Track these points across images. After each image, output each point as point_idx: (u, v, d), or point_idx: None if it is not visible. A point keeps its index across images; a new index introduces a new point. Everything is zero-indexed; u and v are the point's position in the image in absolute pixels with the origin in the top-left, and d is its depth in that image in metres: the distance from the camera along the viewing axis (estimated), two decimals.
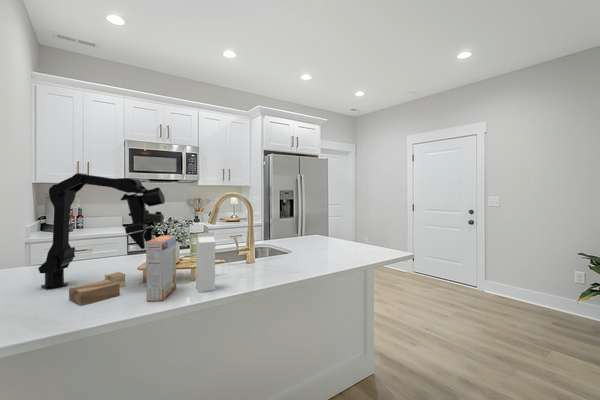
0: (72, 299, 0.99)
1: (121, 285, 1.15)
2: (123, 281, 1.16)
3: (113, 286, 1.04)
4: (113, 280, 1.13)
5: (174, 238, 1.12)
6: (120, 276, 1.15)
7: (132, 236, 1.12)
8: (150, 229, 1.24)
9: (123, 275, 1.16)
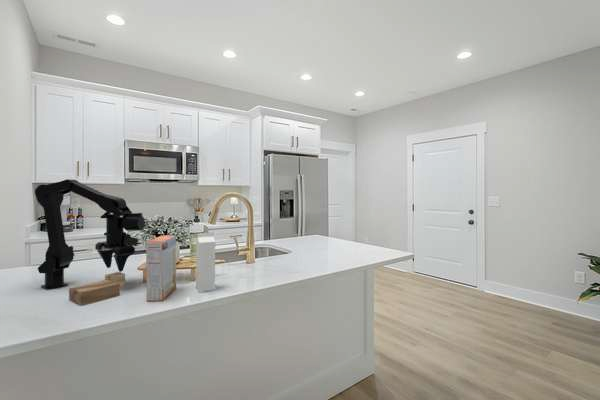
0: (72, 299, 0.99)
1: (121, 285, 1.15)
2: (123, 281, 1.16)
3: (113, 286, 1.04)
4: (113, 280, 1.13)
5: (174, 238, 1.12)
6: (120, 276, 1.15)
7: (118, 258, 1.10)
8: (112, 251, 1.19)
9: (123, 275, 1.16)
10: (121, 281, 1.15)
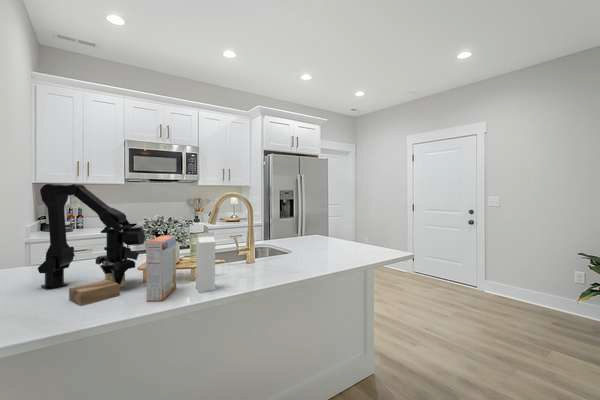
0: (72, 299, 0.99)
1: (121, 285, 1.15)
2: (123, 281, 1.16)
3: (113, 286, 1.04)
4: (113, 280, 1.13)
5: (174, 238, 1.12)
6: None
7: (115, 272, 1.11)
8: None
9: None
10: (121, 281, 1.15)
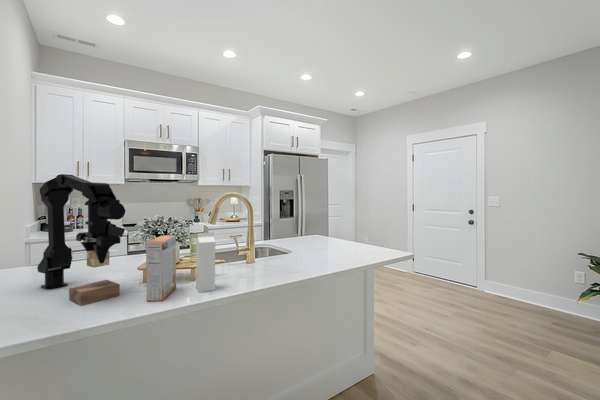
0: (72, 299, 0.99)
1: (105, 263, 1.04)
2: (107, 259, 1.05)
3: (113, 286, 1.04)
4: (96, 257, 1.02)
5: (174, 238, 1.12)
6: None
7: (98, 248, 1.00)
8: None
9: (107, 252, 1.05)
10: (105, 259, 1.04)
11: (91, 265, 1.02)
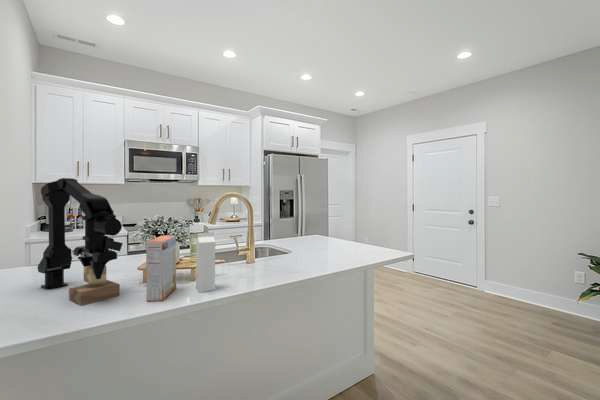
0: (72, 299, 0.99)
1: (102, 279, 1.03)
2: (104, 275, 1.03)
3: (113, 286, 1.04)
4: (92, 273, 1.00)
5: (174, 238, 1.12)
6: None
7: (94, 264, 0.99)
8: None
9: (104, 267, 1.03)
10: (102, 274, 1.03)
11: (88, 281, 1.01)
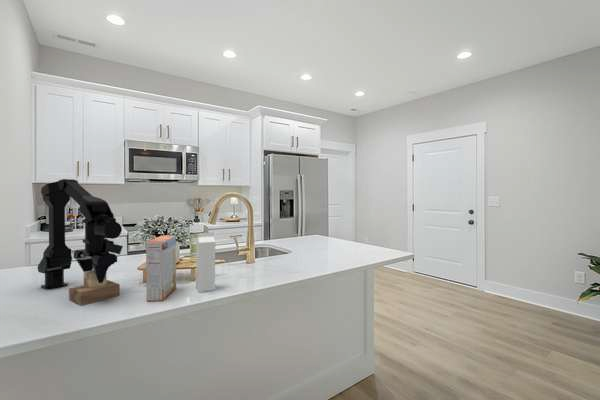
0: (72, 299, 0.99)
1: (102, 284, 1.03)
2: (104, 279, 1.03)
3: (113, 286, 1.04)
4: (92, 278, 1.00)
5: (174, 238, 1.12)
6: None
7: (97, 268, 0.98)
8: None
9: None
10: None
11: (88, 286, 1.01)
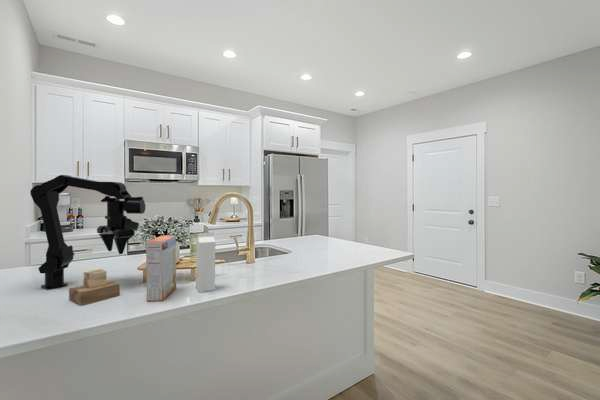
0: (72, 299, 0.99)
1: (102, 284, 1.03)
2: (104, 279, 1.03)
3: (113, 286, 1.04)
4: (92, 278, 1.00)
5: (174, 238, 1.12)
6: (101, 273, 1.03)
7: (118, 240, 1.12)
8: (113, 235, 1.21)
9: (104, 272, 1.03)
10: (102, 279, 1.03)
11: (88, 286, 1.01)
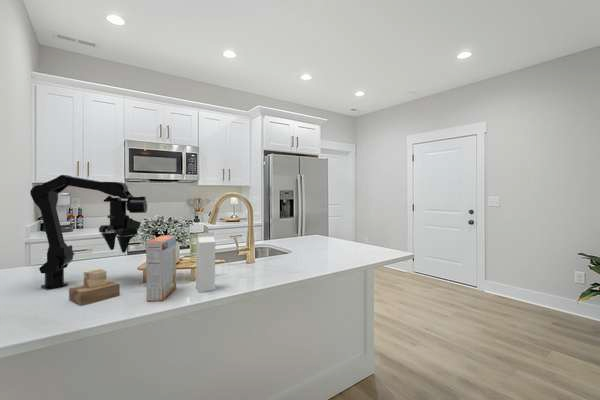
0: (72, 299, 0.99)
1: (102, 284, 1.03)
2: (104, 279, 1.03)
3: (113, 286, 1.04)
4: (92, 278, 1.00)
5: (174, 238, 1.12)
6: (101, 273, 1.03)
7: (121, 239, 1.15)
8: (115, 234, 1.24)
9: (104, 272, 1.03)
10: (102, 279, 1.03)
11: (88, 286, 1.01)
